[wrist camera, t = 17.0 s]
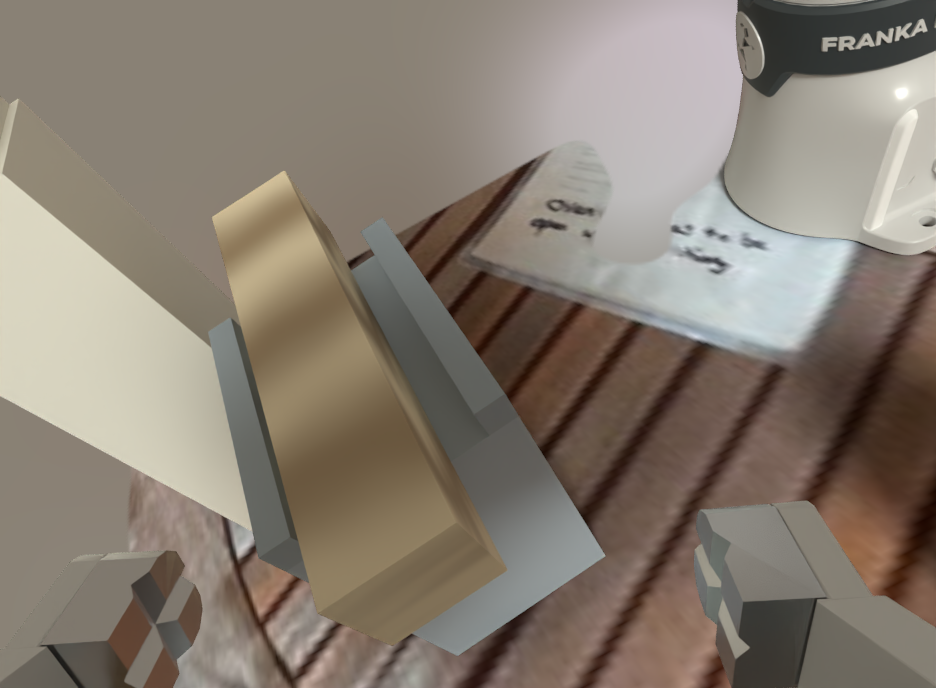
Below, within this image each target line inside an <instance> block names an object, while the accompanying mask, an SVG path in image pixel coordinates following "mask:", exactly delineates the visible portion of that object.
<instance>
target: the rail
mask: <svg viewBox="0 0 936 688" xmlns="http://www.w3.org/2000/svg"><path fill="white" fill-rule="evenodd" d="M212 219H213V223H214V227H215V230H216V235H217V238H218V242H219V246H220V249H221V253H222V257H223V261H224V265H225V268H226V272H227V276H228V280H229V283H230V287H231V291H232V295H233V298H234V302H235V306H236V310H237V313H238V317H239V321H240V325H241V328H242V332H243V336H244V340H245V343H246V347H247V351H248V355H249V358H250V362H251V366H252V370H253V373H254V377H255V381H256V385H257V388H258V392H259V396H260V400H261V403H262V407H263V411H264V415H265V418H266V422H267V426H268V430H269V433H270V437H271V441H272V445H273V448H274V452H275V456H276V460H277V463H278V467H279V471H280V475H281V478H282V482H283V486H284V490H285V493H286V497H287V501H288V505H289V508H290V512H291V516H292V520H293V523H294V527H295V531H296V535H297V538H298V542H299V546H300V550H301V553H302V557H303V561H304V565H305V568H306V572H307V576H308V580H309V583H310V587H311V591H312V595H313V598H314V602H315V606H316V610H317V613H318V614H320V615H322V616H324V617H327V618H329V619H331V620H334V621H336V622H338V623H340V624H343V625H345V626H347V627H350V628H352V629H354V630H357V631H359V632H361V633H364V634H366V635H368V636H371V637H373V638H375V639H378V640H380V641H382V642H384V643H387V644H389V645H391V646H393V645H395V644H396V643H398V642H399V641H401V640H402V639H404V638H405V637H407V636H408V635H410V634H411V633H413V632H414V631H416V630H418V629H419V628H421V627H422V626H424V625H425V624H427V623H428V622H430V621H431V620H433V619H434V618H436V617H437V616H439V615H440V614H442V613H443V612H445V611H446V610H448V609H450V608H451V607H453V606H454V605H456V604H457V603H459V602H460V601H462V600H463V599H465V598H466V597H468V596H469V595H471V594H472V593H474V592H475V591H477V590H478V589H480V588H481V587H483V586H485V585H486V584H488V583H489V582H491V581H492V580H494V579H495V578H497V577H498V576H500V575H501V574H503V573H504V572H506V571H507V568H506V566H505V564H504V562H503V560H502V558H501V556H500V554H499V552H498V550H497V549H496V547H495V545H494V543H493V541H492V539H491V537H490V535H489V533H488V531H487V529H486V528H485V526H484V524H483V522H482V520H481V518H480V516H479V514H478V512H477V510H476V508H475V507H474V505H473V503H472V501H471V499H470V497H469V495H468V493H467V491H466V489H465V488H464V486H463V484H462V482H461V480H460V478H459V476H458V474H457V472H456V470H455V468H454V467H453V465H452V463H451V461H450V459H449V457H448V455H447V453H446V451H445V449H444V447H443V446H442V444H441V442H440V440H439V438H438V436H437V434H436V432H435V430H434V428H433V426H432V425H431V423H430V421H429V419H428V417H427V415H426V413H425V411H424V409H423V407H422V405H421V404H420V402H419V400H418V398H417V396H416V394H415V392H414V390H413V388H412V386H411V384H410V383H409V381H408V379H407V377H406V375H405V373H404V371H403V369H402V367H401V365H400V363H399V362H398V360H397V358H396V356H395V354H394V352H393V350H392V348H391V346H390V344H389V342H388V341H387V339H386V337H385V335H384V333H383V331H382V329H381V327H380V325H379V323H378V321H377V320H376V318H375V316H374V314H373V312H372V310H371V308H370V306H369V304H368V302H367V300H366V299H365V297H364V295H363V293H362V291H361V289H360V287H359V285H358V283H357V281H356V279H355V278H354V276H353V274H352V272H351V270H350V268H349V266H348V264H347V262H346V260H345V258H344V257H343V255H342V253H341V251H340V249H339V247H338V245H337V243H336V241H335V240H334V238H333V236H332V234H331V232H330V230H329V229H328V228H327V226H326V225H325V224H324V223H323V221H322V220H321V218H320V217H319V216H318V214H317V213H316V212H315V211H314V209H313V208H312V206H311V205H310V204H309V202H308V201H307V200H306V198H305V197H304V196H303V194H302V193H301V192H300V190H299V189H298V188H297V186H296V185H295V184H294V182H293V181H292V180H291V178H290V177H289V176H288V174H287V173H286V172H285V171H283V172H281V173H280V174H278V175H277V176H275V177H274V178H272V179H271V180H269V181H268V182H266V183H264V184H263V185H261V186H260V187H258V188H257V189H255V190H254V191H252V192H250V193H249V194H247V195H246V196H244V197H242V198H241V199H239V200H238V201H236V202H235V203H233V204H232V205H230V206H228V207H227V208H225V209H224V210H222V211H221V212H219V213H218V214H216V215H215V216H213V217H212Z"/></svg>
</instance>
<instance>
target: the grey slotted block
mask: <svg viewBox="0 0 936 688" xmlns="http://www.w3.org/2000/svg"><path fill="white" fill-rule="evenodd" d="M361 233H362V235H363V237H364V238H365V240H366V242H367V243H368V245H369V246H370V248H371V250H372V251H373V253H374V256H372V257H371V258H369V259H368V260H366V261H365V262H363V263H362V264H360V265H359V266H357V267H356V268H354V269H353V270H351V272H352V274H353V276H354V278H355V279H356V281H357V283H358V285H359V287H360V289H361V291H362V293H363V295H364V297H365V299H366V300H367V302H368V304H369V306H370V308H371V310H372V312H373V314H374V316H375V318H376V320H377V321H378V323H379V325H380V327H381V329H382V331H383V333H384V335H385V337H386V339H387V341H388V342H389V344H390V346H391V348H392V350H393V352H394V354H395V356H396V358H397V360H398V362H399V363H400V365H401V367H402V369H403V371H404V373H405V375H406V377H407V379H408V381H409V383H410V384H411V386H412V388H413V390H414V392H415V394H416V396H417V398H418V400H419V402H420V404H421V405H422V407H423V409H424V411H425V413H426V415H427V417H428V419H429V421H430V423H431V425H432V426H433V428H434V430H435V432H436V434H437V436H438V438H439V440H440V442H441V444H442V446H443V447H444V449H445V451H446V453H447V455H448V457H449V459H450V461H451V463H452V465H453V467H454V468H455V470H456V472H457V474H458V476H459V478H460V480H461V482H462V484H463V486H464V488H465V489H466V491H467V493H468V495H469V497H470V499H471V501H472V503H473V505H474V507H475V508H476V510H477V512H478V514H479V516H480V518H481V520H482V522H483V524H484V526H485V528H486V529H487V531H488V533H489V535H490V537H491V539H492V541H493V543H494V545H495V547H496V549H497V550H498V552H499V554H500V556H501V558H502V560H503V562H504V564H505V566H506V568H507V571H506V572H504V573H503V574H501V575H500V576H498V577H497V578H495V579H494V580H492V581H491V582H489V583H488V584H486V585H485V586H483V587H481V588H480V589H478V590H477V591H475V592H474V593H472V594H471V595H469V596H468V597H466V598H465V599H463V600H462V601H460V602H459V603H457V604H456V605H454V606H453V607H451V608H450V609H448V610H446V611H445V612H443V613H442V614H440V615H439V616H437V617H436V618H434V619H433V620H431V621H430V622H428V623H427V624H425V625H424V626H422V627H421V628H419V629H418V630H416V631H414V632H413V633H412V634H414V635H416V636H418V637H420V638H422V639H424V640H426V641H428V642H430V643H432V644H434V645H436V646H438V647H440V648H442V649H444V650H446V651H448V652H451V653H453V654H455V655H457V656H458V655H460V654H461V653H463V652H464V651H466V650H467V649H469V648H470V647H472V646H473V645H475V644H476V643H478V642H479V641H481V640H482V639H483V638H485V637H486V636H488V635H489V634H491V633H492V632H494V631H495V630H497V629H498V628H500V627H501V626H503V625H504V624H506V623H507V622H509V621H510V620H512V619H513V618H515V617H516V616H518V615H519V614H520V613H522V612H523V611H525V610H526V609H528V608H529V607H531V606H532V605H534V604H535V603H537V602H538V601H540V600H541V599H543V598H544V597H546V596H547V595H549V594H550V593H552V592H553V591H555V590H556V589H557V588H559V587H560V586H562V585H563V584H565V583H566V582H568V581H569V580H571V579H572V578H574V577H575V576H577V575H578V574H580V573H581V572H583V571H584V570H586V569H587V568H589V567H590V566H592V565H593V564H594V563H596V562H597V561H599V560H600V559H602V558H603V557H605V554H604V552H603V551H602V549H601V548H600V546H599V544H598V543H597V541H596V540H595V538H594V536H593V535H592V533H591V531H590V530H589V528H588V527H587V525H586V523H585V522H584V520H583V519H582V517H581V515H580V514H579V512H578V511H577V509H576V507H575V506H574V504H573V502H572V501H571V499H570V498H569V496H568V494H567V493H566V491H565V490H564V488H563V486H562V485H561V483H560V482H559V480H558V478H557V477H556V475H555V473H554V472H553V470H552V469H551V467H550V465H549V464H548V462H547V461H546V459H545V457H544V456H543V454H542V453H541V451H540V449H539V448H538V446H537V444H536V443H535V441H534V440H533V438H532V436H531V435H530V433H529V432H528V430H527V428H526V427H525V425H524V423H523V422H522V420H521V419H520V417H519V415H518V414H517V412H516V411H515V409H514V407H513V406H512V404H511V403H510V401H509V399H508V398H507V396H506V394H505V393H504V392H503V390H502V389H501V387H500V386H499V384H498V383H497V381H496V380H495V379H494V377H493V376H492V374H491V373H490V371H489V370H488V368H487V367H486V366H485V364H484V363H483V361H482V360H481V358H480V357H479V355H478V354H477V353H476V351H475V350H474V348H473V347H472V345H471V344H470V343H469V341H468V340H467V338H466V337H465V335H464V334H463V332H462V331H461V330H460V328H459V327H458V325H457V324H456V322H455V321H454V319H453V318H452V317H451V315H450V314H449V312H448V311H447V309H446V308H445V307H444V305H443V304H442V302H441V301H440V299H439V298H438V296H437V295H436V294H435V292H434V291H433V289H432V288H431V286H430V285H429V283H428V282H427V281H426V279H425V278H424V276H423V275H422V273H421V272H420V270H419V269H418V268H417V266H416V265H415V263H414V262H413V260H412V259H411V258H410V256H409V255H408V253H407V252H406V250H405V249H404V247H403V246H402V245H401V243H400V242H399V240H398V239H397V237H396V236H395V234H394V233H393V232H392V230H391V229H390V227H389V226H388V225H387V223H386V222H385V220H384V219H383V218H381V219H379V220H377V221H376V222H375V223H373V224H371V225H370V226H368V227H367V228H365V229H364V230H362V231H361ZM208 334H209V338H210V343H211V347H212V352H213V356H214V361H215V365H216V370H217V374H218V379H219V383H220V388H221V392H222V397H223V401H224V406H225V410H226V415H227V419H228V423H229V428H230V432H231V437H232V441H233V446H234V450H235V455H236V459H237V464H238V468H239V473H240V477H241V482H242V486H243V491H244V495H245V500H246V504H247V508H248V513H249V517H250V522H251V526H252V531H253V535H254V540H255V544H256V549H257V553H258V558H259V559H261V560H263V561H266V562H268V563H270V564H272V565H274V566H276V567H278V568H280V569H282V570H284V571H286V572H288V573H290V574H292V575H294V576H296V577H298V578H300V579H302V580H304V581H306V582H308V583H309V580H308V576H307V572H306V568H305V565H304V561H303V557H302V553H301V550H300V546H299V542H298V538H297V535H296V531H295V527H294V523H293V520H292V516H291V512H290V508H289V505H288V501H287V497H286V493H285V490H284V486H283V482H282V478H281V475H280V471H279V467H278V463H277V460H276V456H275V452H274V448H273V445H272V441H271V437H270V433H269V430H268V426H267V422H266V418H265V415H264V411H263V407H262V403H261V400H260V396H259V392H258V388H257V385H256V381H255V377H254V373H253V370H252V366H251V362H250V358H249V355H248V351H247V347H246V343H245V340H244V336H243V332H242V328H241V326H240V325H238V324H237V323H236V322H235V321H234V320H233V319H232V318H231V317H230V318H228V319H227V320H225V321H224V322H222V323H221V324H219V325H218V326H216V327H215V328H213V329H212V330H210V331H209V332H208Z"/></svg>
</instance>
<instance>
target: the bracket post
mask: <svg viewBox="0 0 936 688" xmlns="http://www.w3.org/2000/svg"><path fill="white" fill-rule="evenodd" d="M230 317H231V318H232V319H233V320H234V321H235V322H236V323H237V324H238V325H240V321H239V317H238V313H237V310H236V306H235V304H234V303H233V302H232V301H231V300H230V299H229V298H228V297H227V296H226V295H225V294H224V293H222V291H220V290H219V289H218V288H217V287H216V286H215V285H214V284H213V283H212V282H211V281H210V280H209V279H208V278H207V277H206V276H205V275H204V274H203V273H201V271H199V270H198V269H197V268H196V267H195V266H194V265H193V264H192V263H191V262H190V261H189V260H188V259H187V258H186V257H185V256H184V255H183V254H182V253H181V252H180V251H178V250H177V249H176V248H175V247H174V246H173V245H172V244H171V243H170V242H169V241H168V240H167V239H166V238H165V237H164V236H163V235H162V234H161V233H160V232H159V231H158V230H156V229H155V228H154V227H153V226H152V225H151V224H150V223H149V222H148V221H147V220H146V219H145V218H144V217H143V216H142V215H141V214H140V213H138V211H137V210H135V209H134V208H133V207H132V206H131V205H130V204H129V203H128V202H127V201H126V200H125V199H124V198H123V197H122V196H121V195H120V194H119V193H118V192H117V191H115V189H113V188H112V187H111V186H110V185H109V184H108V183H107V182H106V181H105V180H104V179H103V178H102V177H101V176H100V175H99V174H98V173H97V172H96V171H94V169H92V168H91V167H90V166H89V165H88V164H87V163H86V162H85V161H84V160H83V159H82V158H81V157H80V156H79V155H78V154H77V153H76V152H75V151H74V150H72V149H71V148H70V147H69V146H68V145H67V144H66V143H65V142H64V141H63V140H62V139H61V138H60V137H59V136H58V135H57V134H56V133H55V132H54V131H52V130H51V128H49V127H48V126H47V125H46V124H45V123H44V122H43V121H42V120H41V119H40V118H39V117H38V116H37V115H36V114H35V113H34V112H33V111H31V109H30V108H28V107H27V106H26V105H25V104H24V103H23V102H22V101H21V100H20V99H17V100H15V101H14V102H13V103H11V104H9V103H7V102H6V101H5V100H4V99H3V98H2V97H1V96H0V396H2V397H3V398H5V399H7V400H9V401H11V402H13V403H14V404H16V405H18V406H20V407H22V408H24V409H26V410H28V411H30V412H31V413H33V414H35V415H37V416H39V417H41V418H42V419H44V420H46V421H48V422H50V423H52V424H53V425H55V426H57V427H59V428H61V429H63V430H65V431H67V432H68V433H70V434H72V435H74V436H76V437H78V438H79V439H81V440H83V441H85V442H87V443H89V444H91V445H92V446H94V447H96V448H98V449H100V450H102V451H104V452H105V453H107V454H109V455H111V456H113V457H115V458H117V459H118V460H120V461H122V462H124V463H126V464H128V465H130V466H131V467H133V468H135V469H137V470H139V471H141V472H143V473H144V474H146V475H148V476H150V477H152V478H154V479H156V480H157V481H159V482H161V483H163V484H165V485H167V486H169V487H170V488H172V489H174V490H176V491H178V492H180V493H182V494H183V495H185V496H187V497H189V498H191V499H193V500H195V501H196V502H198V503H200V504H202V505H204V506H206V507H208V508H209V509H211V510H213V511H215V512H217V513H219V514H221V515H222V516H224V517H226V518H228V519H230V520H232V521H234V522H236V523H237V524H239V525H241V526H243V527H245V528H247V529H249V530H250V531H252V526H251V522H250V517H249V513H248V508H247V504H246V500H245V495H244V491H243V486H242V482H241V477H240V473H239V468H238V464H237V459H236V455H235V450H234V446H233V441H232V437H231V432H230V428H229V423H228V419H227V415H226V410H225V406H224V401H223V397H222V392H221V388H220V383H219V379H218V374H217V370H216V365H215V361H214V356H213V352H212V347H211V343H210V338H209V334H208V332H209V331H210V330H212V329H213V328H215V327H216V326H218V325H219V324H221V323H222V322H224V321H225V320H227V319H228V318H230ZM240 326H241V325H240ZM252 532H253V531H252Z"/></svg>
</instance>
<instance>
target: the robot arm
mask: <svg viewBox="0 0 936 688" xmlns="http://www.w3.org/2000/svg"><path fill="white" fill-rule="evenodd" d="M736 40H737V51H738V58H739V62H740V68H741V71H742V74H743V84H742V92H741V101H740V109H739V114H738V120H737V125H736V130H735V134H734V138H733V142H732V145H731V149H730V151H729V154H728V157H727V159H726V163H725V168H724V180H725V184H726V188H727V190H728V192H729V194H730V196H731V198H732V199H733V200H734V202H735V203H736V204H737V205H738V206H739V207H740V208H741V209H742V210H743V211H744V212H746V213H747V214H748V215H750V216H751V217H753V218H754V219H756V220H758V221H760V222H762V223H764V224H766V225H768V226H771V227H773V228H776V229H779V230H782V231H786V232H790V233H794V234H799V235H805V236H812V237H824V238H839V239H849V240H854V241H859V242H861V243H864V244H867V245H869V246H872V247H875V248H878V249H881V250H884V251H887V252H891V253H895V254H901V255H914V254H919V253H922V252H924V251H927V250H929V249H931V248H933V247H935V246H936V0H738V13H737V15H736ZM922 225H930V226H931V227H925V226H922ZM696 530H697V533H698V535H699V538H700V540H701V544H700V545H699V546H698V547H697V548H696V549H695V554H694V569H695V577H696V585H697V589H698V593H699V597H700V600H701V603H702V606H703V609H704V612H705V615H706V616H707V617H708V618H709V619H711V620H712V621H713V622H714V623H715V624H717V633H716V646H717V649H718V652H719V655H720V658H721V660H722V663H723V666H724V669H725V671H726V674H727V677H728V680H729V682H730V685H731V688H936V628H935V627H934V626H932V625H931V624H929V623H927V622H926V621H924V620H923V619H921V618H920V617H918V616H916V615H915V614H913V613H912V612H910V611H909V610H907V609H905V608H904V607H902V606H901V605H899V604H898V603H896V602H894V601H893V600H891V599H890V598H888V597H887V596H873V595H872V593H871V592H870V590H869V589H868V587H867V586H866V584H865V583H864V581H863V580H862V578H861V577H860V575H859V574H858V572H857V570H856V569H855V567H854V566H853V564H852V563H851V561H850V560H849V558H848V557H847V555H846V554H845V552H844V551H843V549H842V548H841V546H840V545H839V543H838V541H837V540H836V538H835V537H834V535H833V534H832V532H831V531H830V529H829V528H828V526H827V525H826V523H825V522H824V520H823V519H822V517H821V516H820V514H819V512H818V511H817V509H816V508H815V506H814V505H812V504H811V503H809V502H808V501H798V502H786V503H774V504H770V505H768V504H761V505H749V506H737V507H726V508H714V509H703V510H699V513H698V515H697V523H696ZM184 567H185V565H184V563H183V562H182V560H181V558H180V557H179V555H178V554H177V552H176V551H147V552H126V553H110V554H95V555H81V556H79V557H78V558H76V559H74V560H73V561H71V562H69V564H68V565H67V567H66V568H65V569H64V570H63V572H62V573H61V574H60V576H59V577H58V578H57V580H56V581H55V582H54V584H53V585H52V586H51V588H50V589H49V590H48V592H47V593H46V594H45V596H44V597H43V598H42V600H41V601H40V602H39V604H38V605H37V606H36V608H35V609H34V610H33V612H32V613H31V614H30V615H29V617H28V618H27V619H26V621H25V622H24V623H23V625H22V626H21V627H20V629H19V630H18V631H17V633H16V634H15V635H14V637H13V638H12V639H11V641H10V642H9V643H8V645H7V646H6V647H5V648H4V649H0V688H173V686H174V684H175V682H176V680H177V678H178V675H179V669H178V665H177V659H178V658H179V657H180V656H181V655H183V654H184V653H185V652H186V651H187V650H188V649H189V648H190V647H191V646H192V645H193V643H194V640H195V638H196V636H197V633H198V631H199V629H200V623H201V616H202V603H201V597H200V594H199V592H198V590H197V588H196V586H195V584H193V583H192V582H190V581H188V580H187V579H185V578H184V577H182V576H181V574H182V571H183V569H184Z"/></svg>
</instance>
